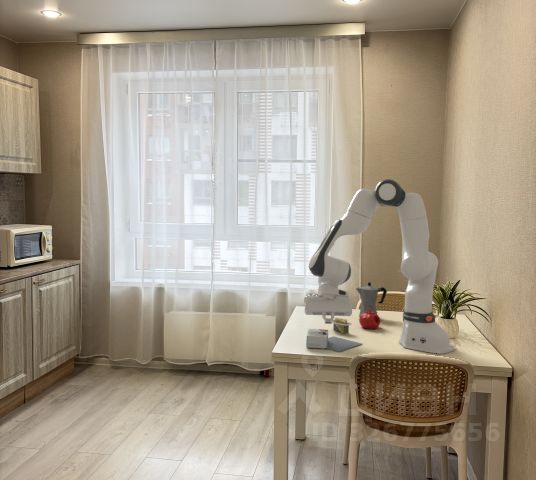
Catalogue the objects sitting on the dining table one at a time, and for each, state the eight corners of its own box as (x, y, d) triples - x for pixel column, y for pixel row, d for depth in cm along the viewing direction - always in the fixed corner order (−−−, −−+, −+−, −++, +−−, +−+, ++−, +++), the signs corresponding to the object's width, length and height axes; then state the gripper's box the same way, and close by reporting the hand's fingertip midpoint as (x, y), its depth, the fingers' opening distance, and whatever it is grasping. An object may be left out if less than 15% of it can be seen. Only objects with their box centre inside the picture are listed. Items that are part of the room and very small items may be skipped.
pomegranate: (358, 329, 255) (358, 310, 254) (359, 324, 264) (360, 305, 263) (380, 331, 252) (380, 311, 251) (380, 325, 262) (381, 306, 261)
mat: (362, 344, 230) (362, 343, 230) (338, 352, 219) (338, 351, 218) (333, 337, 240) (333, 336, 240) (310, 344, 229) (310, 343, 229)
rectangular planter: (350, 339, 239) (351, 324, 238) (315, 332, 250) (316, 318, 249) (364, 334, 248) (364, 319, 247) (330, 327, 259) (330, 313, 259)
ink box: (328, 329, 233) (327, 337, 222) (327, 340, 234) (327, 348, 222) (308, 328, 234) (306, 335, 223) (307, 339, 235) (306, 347, 223)
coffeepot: (356, 319, 274) (357, 283, 272) (354, 315, 283) (355, 280, 281) (387, 320, 273) (388, 284, 271) (384, 315, 282) (385, 281, 280)
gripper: (304, 290, 238) (303, 318, 229) (352, 292, 237) (353, 320, 228) (304, 298, 243) (303, 326, 234) (350, 300, 242) (351, 327, 233)
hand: (328, 323), depth 231 cm, fingers closed
